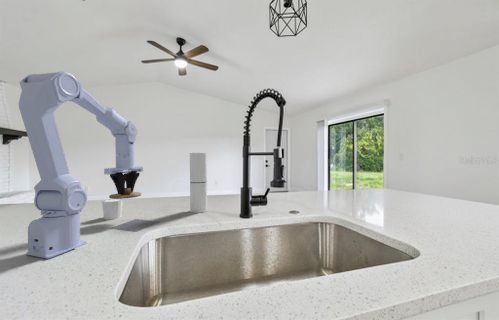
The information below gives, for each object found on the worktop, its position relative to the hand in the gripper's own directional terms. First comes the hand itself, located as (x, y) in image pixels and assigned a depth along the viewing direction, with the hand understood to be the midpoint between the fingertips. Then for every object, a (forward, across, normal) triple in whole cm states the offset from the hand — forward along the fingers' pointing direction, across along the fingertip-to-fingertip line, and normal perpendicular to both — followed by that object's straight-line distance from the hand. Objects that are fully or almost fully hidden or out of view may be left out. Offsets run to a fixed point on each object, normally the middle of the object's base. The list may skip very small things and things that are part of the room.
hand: (125, 193), depth 78 cm
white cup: (+11, +3, +9) cm, 14 cm away
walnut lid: (+1, 0, 0) cm, 1 cm away
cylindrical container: (+11, +22, -16) cm, 30 cm away
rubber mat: (+10, -2, -7) cm, 13 cm away
